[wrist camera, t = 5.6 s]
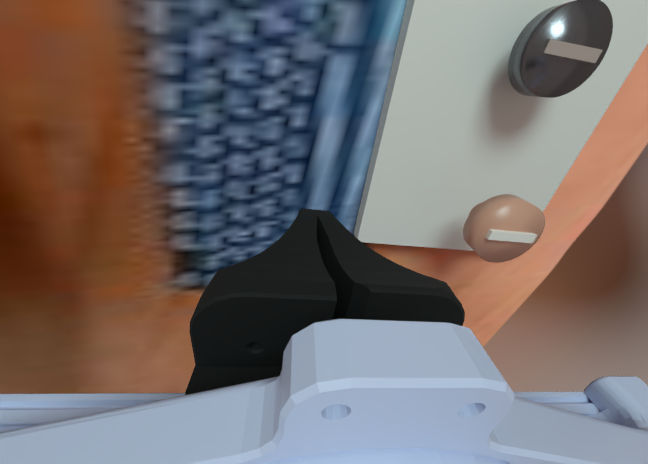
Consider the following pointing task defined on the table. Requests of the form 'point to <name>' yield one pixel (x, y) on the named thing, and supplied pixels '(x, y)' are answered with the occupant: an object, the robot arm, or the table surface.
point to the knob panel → (477, 119)
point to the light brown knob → (503, 227)
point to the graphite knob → (560, 48)
